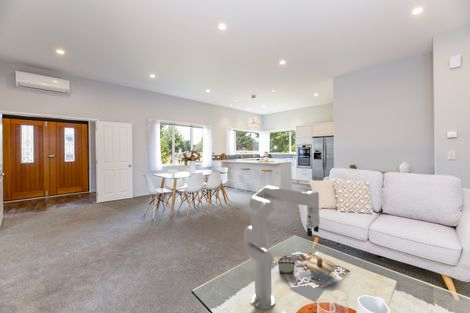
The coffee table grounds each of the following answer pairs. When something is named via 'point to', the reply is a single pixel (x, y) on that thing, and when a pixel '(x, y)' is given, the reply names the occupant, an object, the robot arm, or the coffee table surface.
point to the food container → (286, 265)
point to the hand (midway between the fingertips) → (312, 233)
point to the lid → (319, 267)
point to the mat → (309, 291)
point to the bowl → (320, 276)
